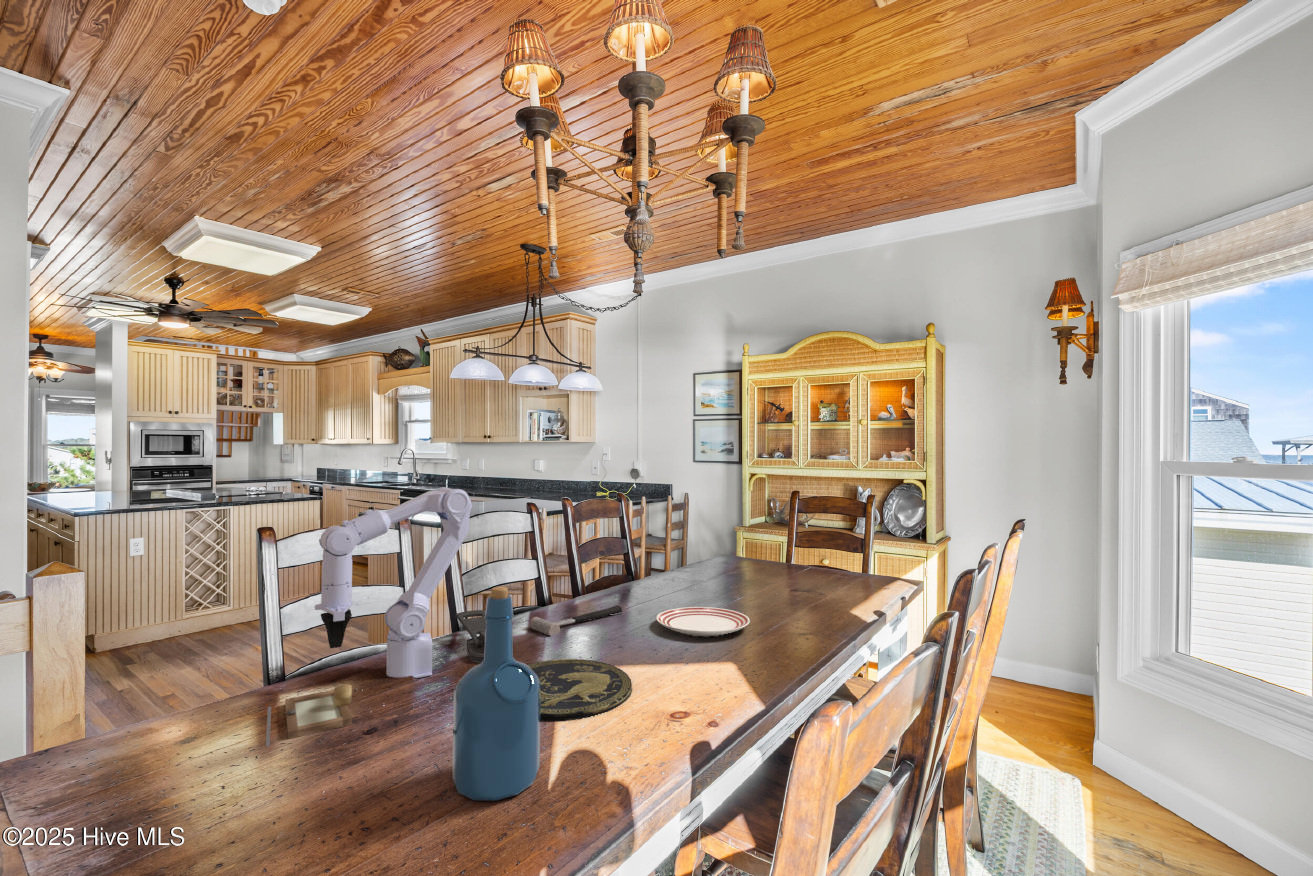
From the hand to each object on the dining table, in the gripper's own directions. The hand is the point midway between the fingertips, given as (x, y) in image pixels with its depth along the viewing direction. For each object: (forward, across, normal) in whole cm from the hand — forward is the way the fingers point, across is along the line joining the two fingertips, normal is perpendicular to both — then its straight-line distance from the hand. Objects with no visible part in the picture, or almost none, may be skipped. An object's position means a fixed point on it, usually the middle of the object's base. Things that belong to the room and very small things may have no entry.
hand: (335, 646), depth 125 cm
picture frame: (+9, +13, -3) cm, 16 cm away
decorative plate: (+10, +24, +42) cm, 49 cm away
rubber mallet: (+10, -19, +66) cm, 70 cm away
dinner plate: (+10, +4, +95) cm, 96 cm away
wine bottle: (+10, +51, +19) cm, 55 cm away
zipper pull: (+10, -12, +34) cm, 38 cm away
